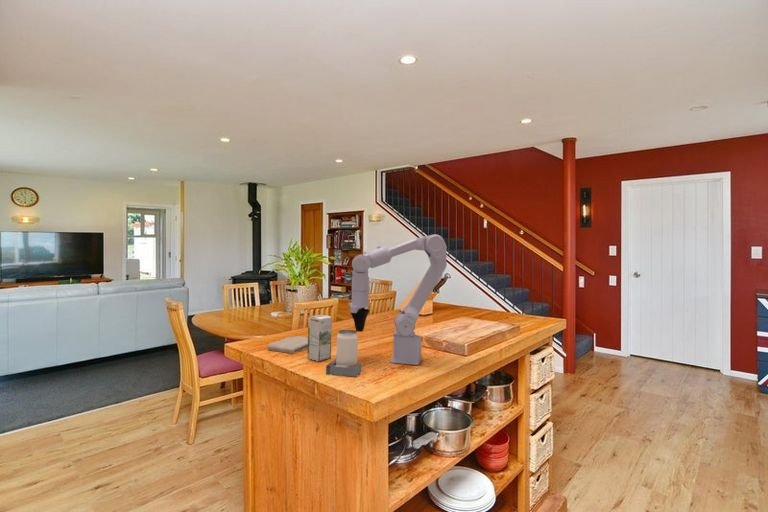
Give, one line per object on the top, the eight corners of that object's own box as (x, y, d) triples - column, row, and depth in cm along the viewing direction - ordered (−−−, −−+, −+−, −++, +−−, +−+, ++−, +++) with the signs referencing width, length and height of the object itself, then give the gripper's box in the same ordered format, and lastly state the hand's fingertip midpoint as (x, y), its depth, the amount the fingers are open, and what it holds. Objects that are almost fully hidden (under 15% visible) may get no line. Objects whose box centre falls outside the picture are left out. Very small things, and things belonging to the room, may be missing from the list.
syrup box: (319, 355, 137) (320, 314, 137) (331, 358, 133) (332, 316, 133) (307, 358, 133) (307, 316, 132) (318, 362, 129) (319, 318, 129)
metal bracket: (373, 359, 134) (373, 350, 134) (356, 377, 115) (356, 367, 115) (347, 356, 136) (347, 348, 136) (326, 374, 117) (326, 364, 117)
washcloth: (321, 344, 154) (321, 337, 154) (293, 355, 138) (293, 347, 138) (296, 341, 159) (296, 333, 159) (266, 351, 142) (266, 343, 142)
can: (352, 374, 117) (354, 334, 117) (332, 372, 119) (333, 332, 118) (359, 368, 123) (360, 330, 123) (340, 365, 125) (341, 328, 125)
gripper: (355, 288, 139) (354, 326, 139) (341, 292, 125) (340, 334, 125) (374, 288, 138) (374, 327, 138) (362, 293, 123) (362, 336, 124)
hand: (359, 331), depth 131 cm, fingers closed
